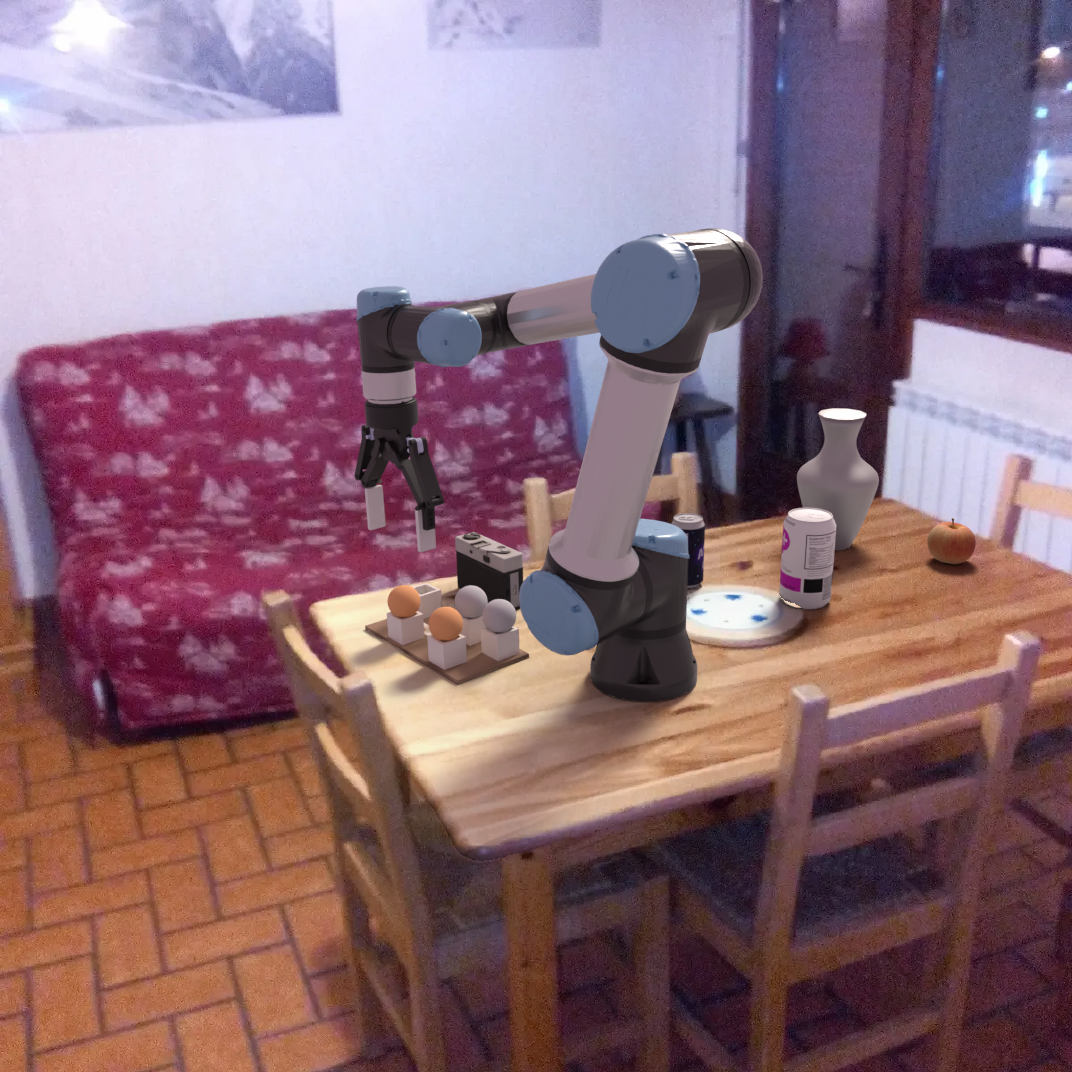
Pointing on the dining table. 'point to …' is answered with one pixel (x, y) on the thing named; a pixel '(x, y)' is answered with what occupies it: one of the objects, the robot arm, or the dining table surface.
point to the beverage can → (693, 545)
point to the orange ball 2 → (445, 623)
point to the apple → (951, 542)
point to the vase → (839, 475)
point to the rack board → (458, 674)
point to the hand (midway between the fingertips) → (401, 538)
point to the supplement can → (807, 557)
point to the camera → (489, 567)
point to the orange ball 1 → (404, 601)
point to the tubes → (453, 650)
